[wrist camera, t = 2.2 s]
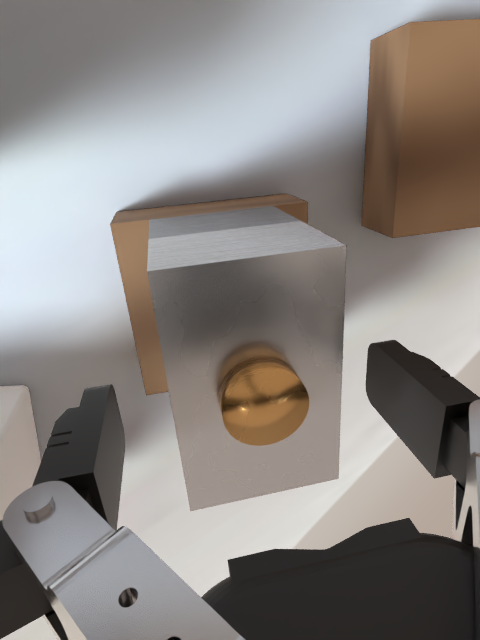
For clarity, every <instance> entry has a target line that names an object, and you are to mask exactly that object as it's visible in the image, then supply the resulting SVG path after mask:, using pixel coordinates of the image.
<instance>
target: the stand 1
mask: <svg viewBox="0 0 480 640" xmlns="http://www.w3.org/2000/svg"><path fill="white" fill-rule="evenodd" d="M266 206H274V207H276V208H278V209H280V210H282V211H283V212H285V213H287V214H289V215H291V216H293V217H295V218H297V219H298V220H300V221H302V222H304V223H306V224H308V202H307V201H304V200H302V199H299V198H297V197H294V196H291V195H289V194H277V195H268V196H259V197H249V198H240V199H231V200H222V201H213V202H203V203H194V204H185V205H176V206H166V207H157V208H148V209H139V210H130V211H120V212H116V214H115V216H114V218H113V220H112V222H111V224H110V225H111V230H112V235H113V240H114V244H115V249H116V254H117V258H118V263H119V268H120V273H121V277H122V282H123V287H124V292H125V296H126V301H127V306H128V311H129V315H130V320H131V325H132V330H133V334H134V339H135V344H136V349H137V353H138V358H139V363H140V368H141V372H142V377H143V382H144V387H145V391H146V395H151V394H156V393H162V392H168V391H169V389H168V384H167V378H166V373H165V367H164V362H163V356H162V351H161V345H160V340H159V334H158V329H157V323H156V318H155V312H154V307H153V301H152V296H151V290H150V285H149V279H148V274H147V262H148V240H149V220H151V219H160V218H169V217H177V216H186V215H195V214H204V213H213V212H222V211H231V210H240V209H249V208H257V207H266Z"/></svg>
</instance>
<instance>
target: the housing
mask: <svg viewBox="0 0 480 640" xmlns="http://www.w3.org/2000/svg"><path fill="white" fill-rule="evenodd" d="M147 274H148V279H149V285H150V290H151V296H152V301H153V307H154V312H155V318H156V323H157V329H158V334H159V340H160V345H161V351H162V356H163V362H164V367H165V373H166V378H167V384H168V389H169V395H170V400H171V406H172V411H173V417H174V423H175V428H176V434H177V439H178V445H179V450H180V456H181V461H182V467H183V472H184V478H185V483H186V489H187V494H188V500H189V505H190V511H194V510H198V509H203V508H207V507H212V506H216V505H221V504H225V503H230V502H234V501H239V500H244V499H248V498H253V497H257V496H262V495H266V494H271V493H275V492H280V491H285V490H289V489H294V488H298V487H303V486H307V485H312V484H316V483H321V482H325V481H330V480H335V479H338V476H339V447H340V418H341V389H342V360H343V331H344V303H345V274H346V245H345V244H343V243H341V242H340V241H338V240H336V239H334V238H332V237H330V236H328V235H326V234H325V233H323V232H321V231H319V230H317V229H315V228H313V227H312V226H310V225H308V224H306V223H304V222H302V221H300V220H298V219H297V218H295V217H293V216H291V215H289V214H287V213H285V212H283V211H282V210H280V209H278V208H276V207H274V206H266V207H257V208H249V209H240V210H231V211H222V212H213V213H204V214H195V215H186V216H177V217H169V218H160V219H151V220H149V240H148V262H147Z"/></svg>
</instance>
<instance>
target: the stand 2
mask: <svg viewBox="0 0 480 640" xmlns="http://www.w3.org/2000/svg"><path fill="white" fill-rule="evenodd" d="M362 226H364V227H367V228H369V229H372V230H374V231H377V232H379V233H382V234H384V235H387V236H389V237H392V238H396V237H404V236H412V235H419V234H427V233H435V232H442V231H450V230H458V229H465V228H473V227H480V19H468V20H447V21H425V22H410V23H408V24H406V25H403V26H401V27H399V28H397V29H395V30H393V31H390V32H388V33H386V34H384V35H382V36H380V37H378V38H375V39H373V40H371V47H370V67H369V88H368V108H367V128H366V148H365V168H364V188H363V209H362Z"/></svg>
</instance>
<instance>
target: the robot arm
mask: <svg viewBox="0 0 480 640" xmlns="http://www.w3.org/2000/svg"><path fill="white" fill-rule="evenodd" d="M366 392H367V396H368V399H369V401H370V403H371V404H372V406H373V407H374V408H375V409H376V410H377V411H378V413H379V414H380V415H381V416H382V417H383V419H384V420H385V421H386V422H387V423H388V424H389V426H390V427H391V428H392V429H393V430H394V432H395V433H396V434H397V435H398V436H399V437H400V439H401V440H402V441H403V442H404V443H405V445H406V446H407V447H408V448H409V449H410V450H411V451H412V453H413V454H414V455H415V456H416V457H417V459H418V460H419V461H420V462H421V463H422V464H423V466H424V467H425V468H426V469H427V470H428V472H429V473H430V474H431V475H432V476H433V478H438V477H443V476H448V475H453V477H454V478H455V483H454V489H453V539H451V538H448V537H444V536H439V535H434V534H427V533H419V532H418V530H417V529H416V527H415V526H414V524H413V523H412V521H411V520H410V518H406V519H402V520H398V521H394V522H389V523H385V524H380V525H376V526H372V527H368V528H365V529H364V530H362V531H360V532H358V533H356V534H355V535H353V536H351V537H349V538H347V539H345V540H344V541H342V542H340V543H338V544H336V545H335V546H333V547H331V548H329V549H325V550H304V549H301V550H300V549H273V550H268V551H264V552H260V553H255V554H251V555H247V556H242V557H238V558H234V559H230V560H228V566H229V574H230V577H228V578H226V579H225V580H223V581H221V582H220V583H218V584H217V585H215V586H214V587H212V588H211V589H210V590H209V591H208V592H207V593H206V594H204V595H203V596H202V597H200V596H199V595H198V594H197V593H196V592H195V591H194V590H193V589H192V588H191V587H190V586H189V585H187V584H186V583H185V582H184V581H183V580H182V579H181V578H180V577H179V576H178V575H177V574H176V573H175V572H174V571H173V570H172V569H171V568H170V567H169V566H168V565H167V564H166V563H165V562H164V561H163V560H161V559H160V558H159V557H158V556H157V555H156V554H155V553H154V552H153V551H152V550H151V549H150V548H149V547H148V546H147V545H146V544H145V543H144V542H143V541H142V540H141V539H140V538H139V537H138V536H137V535H135V534H134V533H133V532H132V531H131V530H130V529H129V528H127V527H125V526H122V527H120V528H119V529H118V530H117V521H118V511H119V501H120V491H121V482H122V472H123V462H124V452H125V437H124V430H123V425H122V421H121V416H120V412H119V408H118V403H117V399H116V395H115V391H114V388H113V386H112V385H105V386H99V387H93V388H87V389H85V390H84V393H83V397H82V400H81V403H80V407H76V408H70V409H67V410H66V411H65V412H64V413H63V414H62V416H61V417H60V418H59V419H58V420H57V421H56V422H55V425H54V428H53V431H52V433H51V437H50V439H49V442H48V444H47V448H46V450H45V452H44V455H43V458H42V461H41V463H40V466H39V469H38V472H37V474H36V477H35V480H34V482H33V485H32V487H31V488H29V489H27V490H25V491H24V492H23V493H21V494H20V495H19V496H17V497H16V498H15V499H14V500H13V501H12V502H11V503H10V505H9V506H8V507H7V509H6V511H5V513H4V515H3V520H1V521H0V639H1V638H3V637H5V636H7V635H8V634H10V633H12V632H14V631H16V630H18V629H19V628H21V627H23V626H25V625H27V624H28V623H30V622H32V621H34V620H36V619H38V618H39V617H41V616H43V617H44V619H45V621H46V622H47V624H48V625H49V627H50V628H51V630H52V632H53V633H54V635H55V636H56V638H57V640H480V397H478V396H477V395H476V394H474V393H473V392H472V391H470V390H469V389H468V388H466V387H465V386H464V385H463V384H461V383H460V382H458V381H457V380H456V379H455V378H454V377H450V374H448V373H447V372H446V371H444V370H443V369H442V370H441V368H440V367H439V366H438V365H437V364H435V363H434V362H433V361H431V360H430V359H428V358H426V357H424V356H421V355H419V354H416V353H414V352H410V351H409V350H408V349H406V348H405V347H404V346H402V345H401V344H400V343H399V342H397V341H396V340H390V341H384V342H377V343H372V344H370V346H369V348H368V357H367V373H366ZM116 530H117V531H116Z"/></svg>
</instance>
